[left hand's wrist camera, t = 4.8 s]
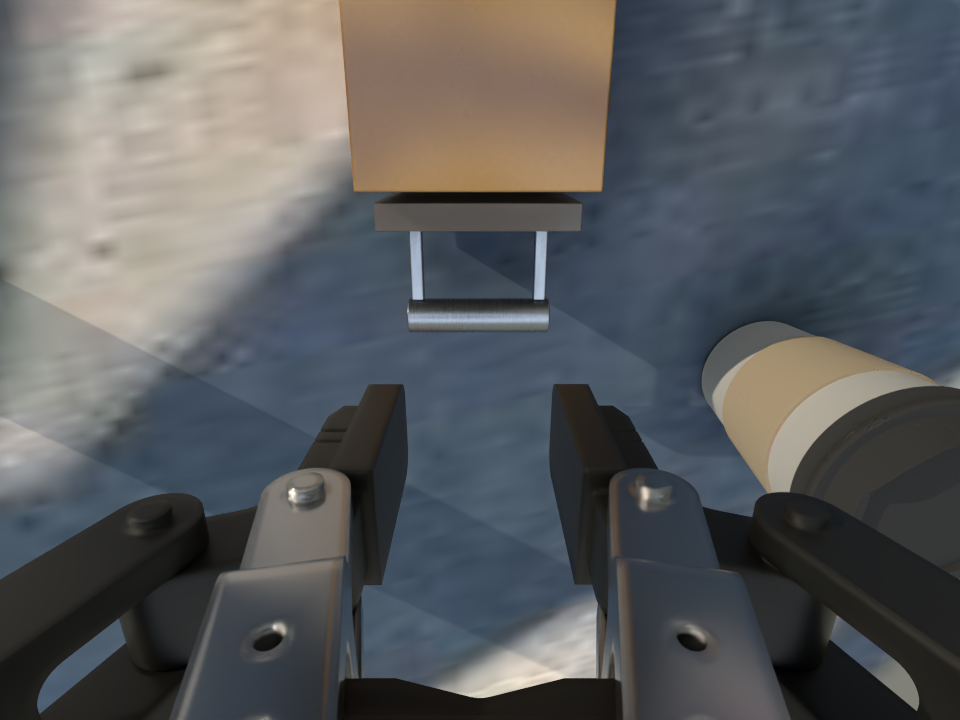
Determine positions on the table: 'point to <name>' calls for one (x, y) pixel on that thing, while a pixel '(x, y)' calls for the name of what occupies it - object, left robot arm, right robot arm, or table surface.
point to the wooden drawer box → (478, 94)
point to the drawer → (478, 215)
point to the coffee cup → (844, 432)
